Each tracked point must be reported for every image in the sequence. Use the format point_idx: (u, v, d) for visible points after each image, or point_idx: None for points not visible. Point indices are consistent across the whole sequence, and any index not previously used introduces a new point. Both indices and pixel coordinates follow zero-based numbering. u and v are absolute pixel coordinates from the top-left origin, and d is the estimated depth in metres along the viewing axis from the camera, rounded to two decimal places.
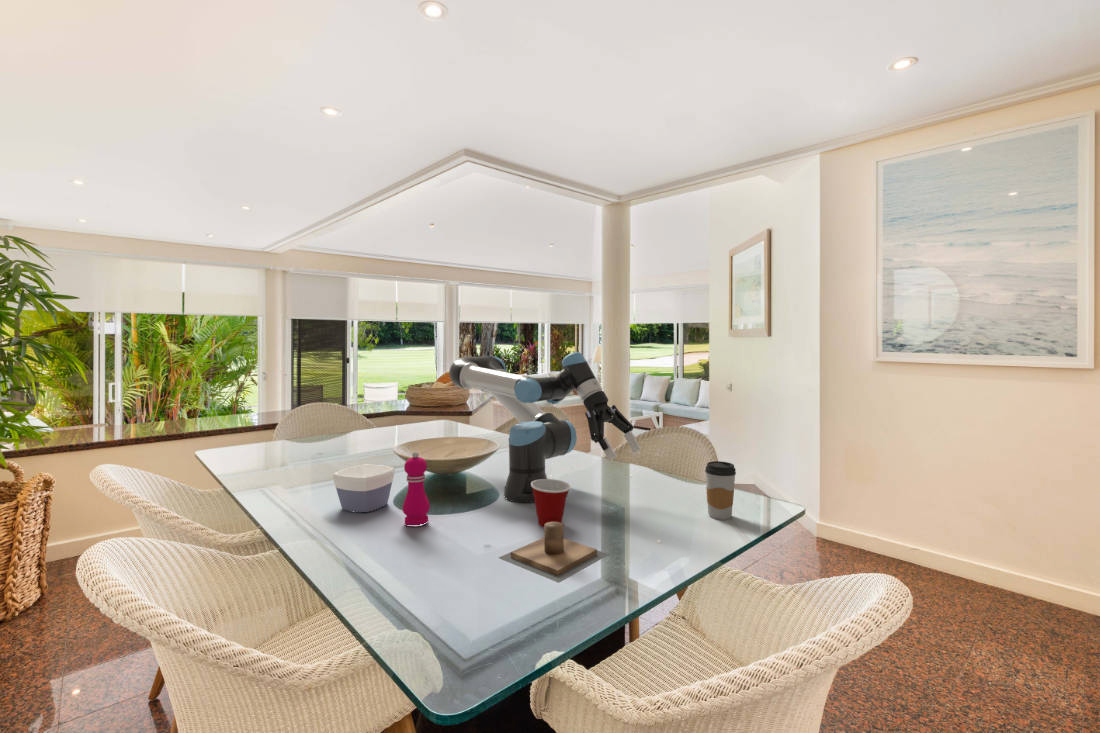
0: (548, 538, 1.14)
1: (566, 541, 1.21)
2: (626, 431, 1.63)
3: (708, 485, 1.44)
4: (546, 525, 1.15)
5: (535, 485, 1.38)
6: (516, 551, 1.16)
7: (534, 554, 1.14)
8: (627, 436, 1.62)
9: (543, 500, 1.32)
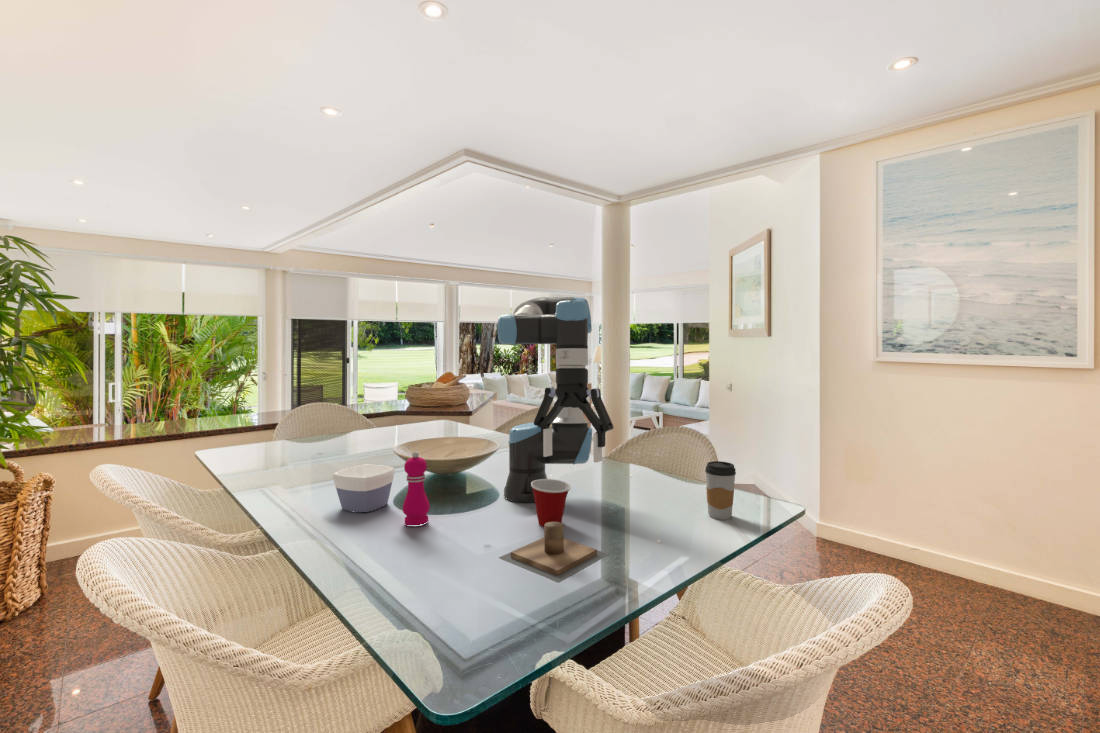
0: (548, 538, 1.14)
1: (566, 541, 1.21)
2: None
3: (708, 485, 1.44)
4: (546, 525, 1.15)
5: (535, 485, 1.38)
6: (516, 551, 1.16)
7: (534, 554, 1.14)
8: None
9: (543, 500, 1.32)
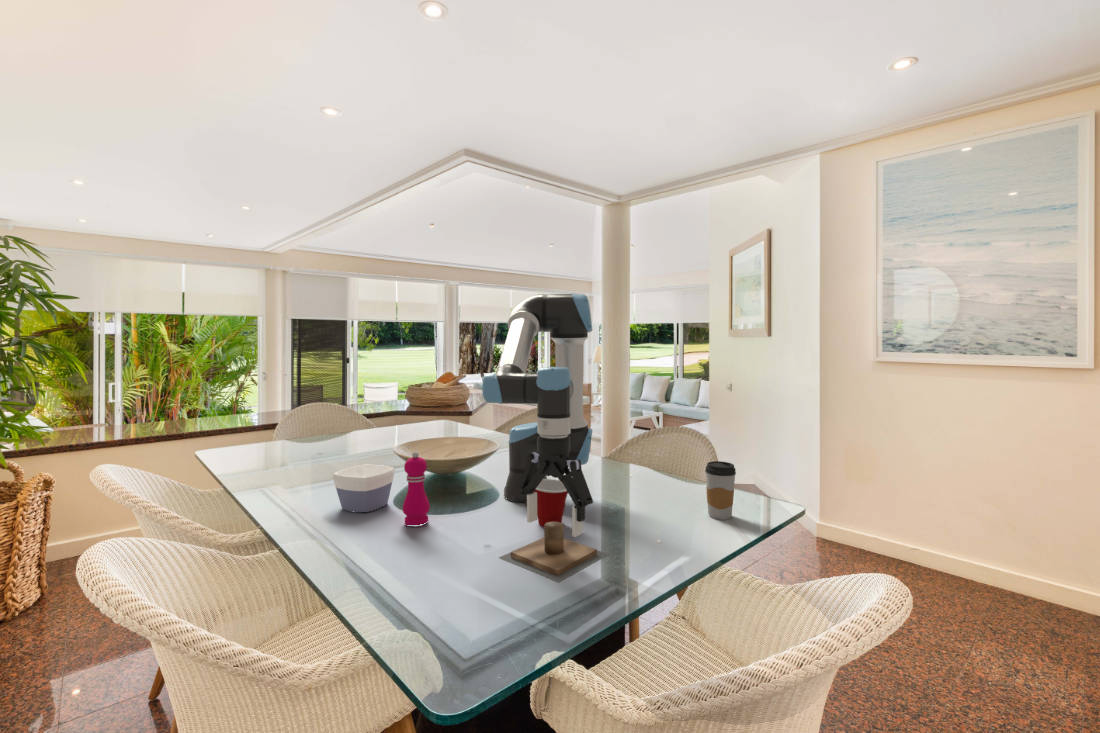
0: (548, 538, 1.14)
1: (566, 541, 1.21)
2: None
3: (708, 485, 1.44)
4: (546, 525, 1.15)
5: None
6: (516, 551, 1.16)
7: (534, 554, 1.14)
8: None
9: (543, 500, 1.32)
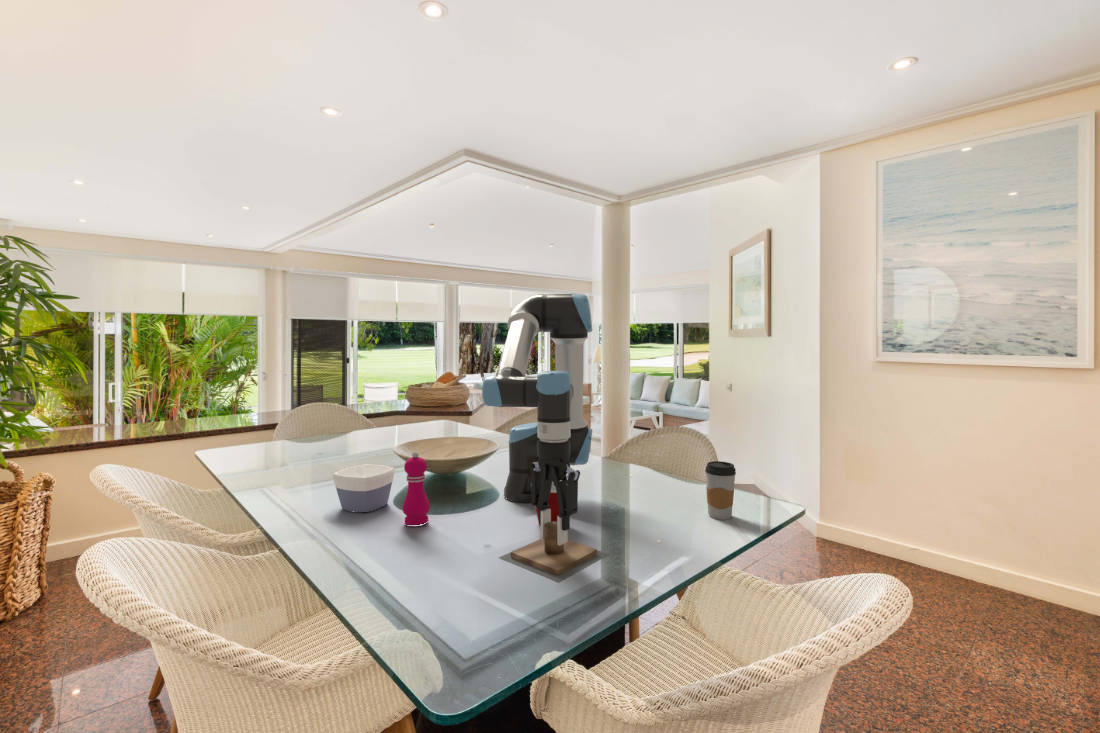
0: (548, 538, 1.14)
1: None
2: None
3: (708, 485, 1.44)
4: (546, 525, 1.15)
5: None
6: (516, 551, 1.16)
7: (534, 554, 1.14)
8: None
9: None
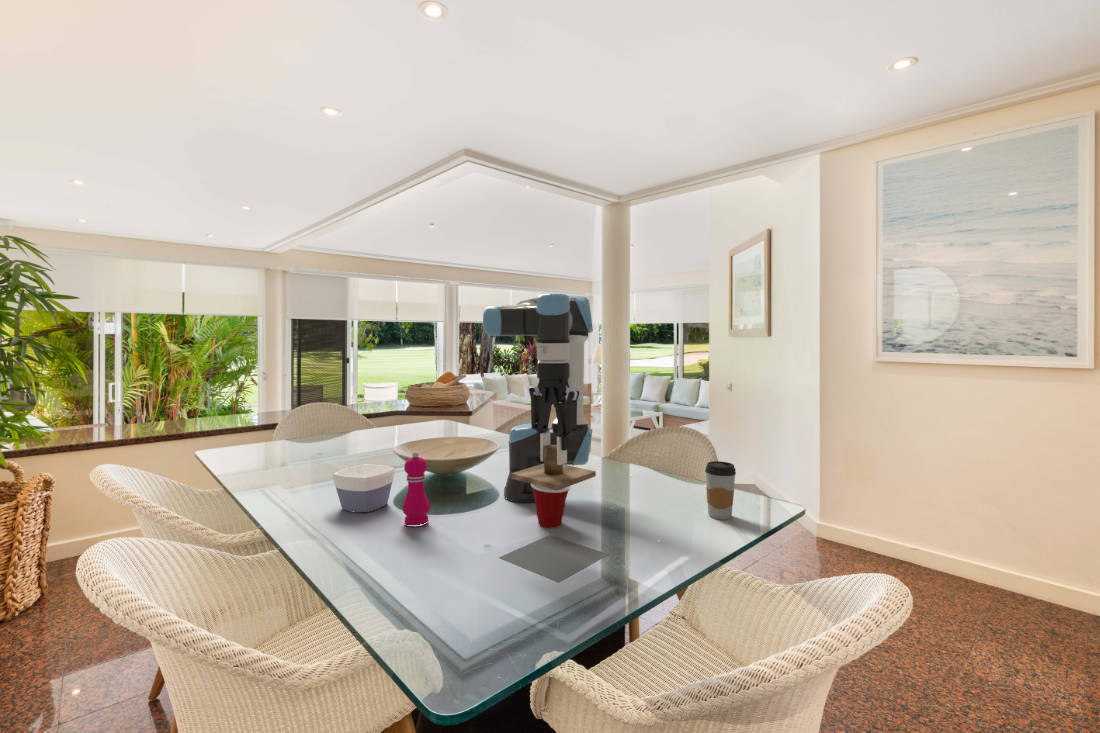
0: (548, 459, 1.16)
1: (565, 466, 1.23)
2: None
3: (708, 485, 1.44)
4: (546, 447, 1.17)
5: (535, 485, 1.38)
6: (517, 472, 1.18)
7: (534, 474, 1.16)
8: None
9: (543, 500, 1.32)
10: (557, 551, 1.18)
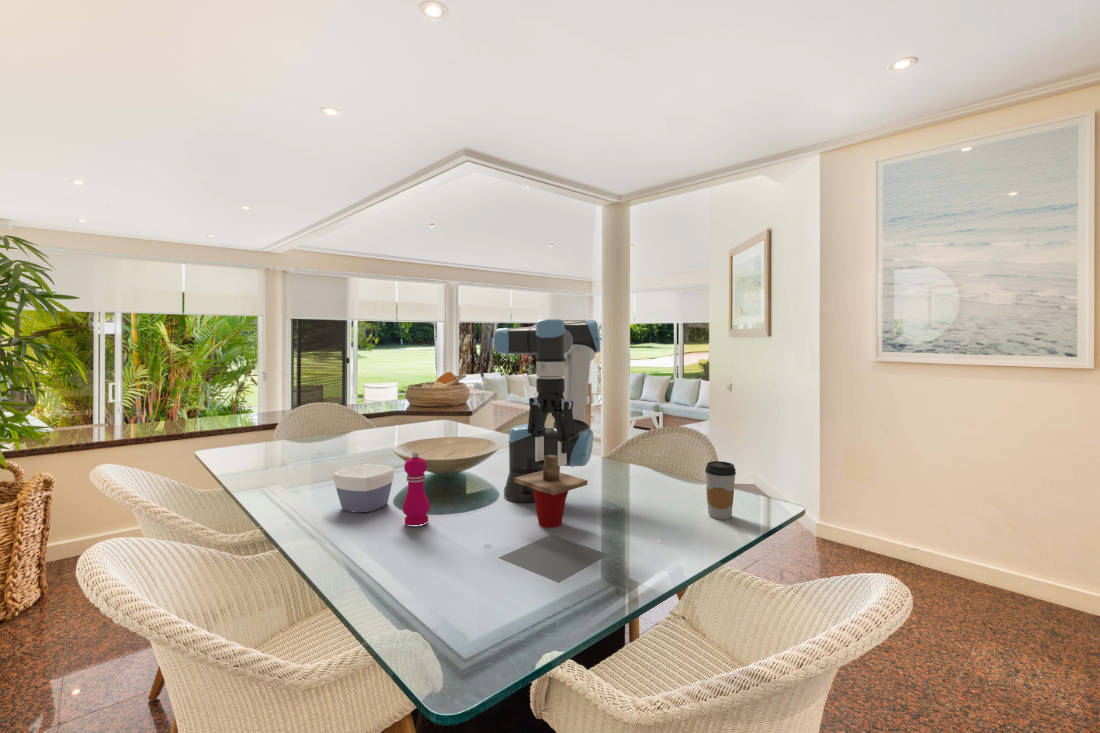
0: (547, 467, 1.34)
1: (561, 474, 1.41)
2: None
3: (708, 485, 1.44)
4: (545, 456, 1.35)
5: None
6: (519, 477, 1.36)
7: (534, 480, 1.34)
8: None
9: (543, 500, 1.32)
10: (557, 551, 1.18)
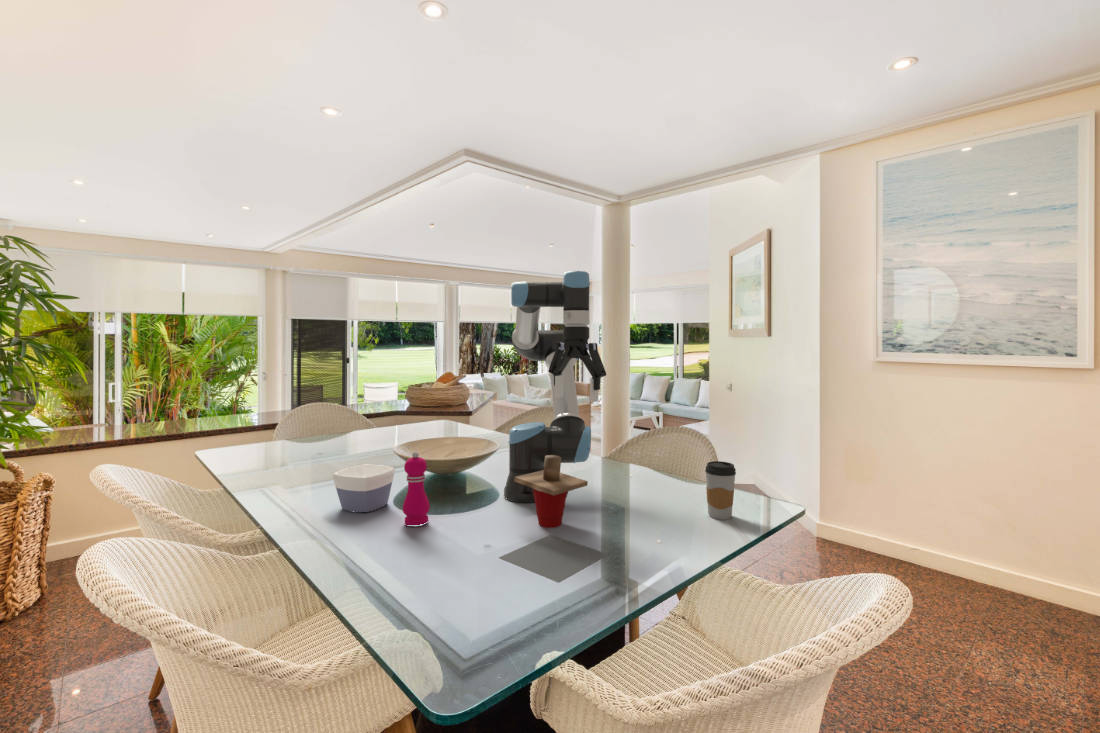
0: (547, 467, 1.34)
1: (561, 474, 1.41)
2: None
3: (708, 485, 1.44)
4: (546, 456, 1.35)
5: None
6: (519, 476, 1.36)
7: (534, 479, 1.34)
8: None
9: (543, 500, 1.32)
10: (557, 551, 1.18)
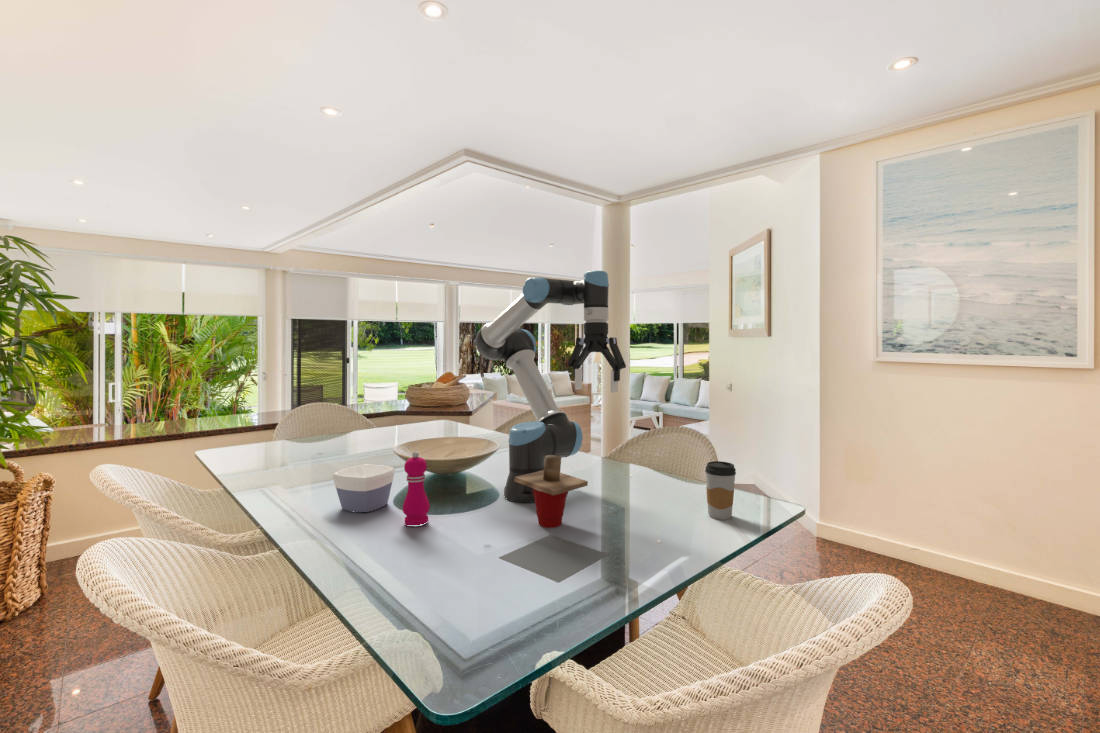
0: (547, 467, 1.34)
1: (561, 474, 1.41)
2: None
3: (708, 485, 1.44)
4: (546, 456, 1.35)
5: None
6: (519, 476, 1.36)
7: (534, 479, 1.34)
8: None
9: (543, 500, 1.32)
10: (557, 551, 1.18)
